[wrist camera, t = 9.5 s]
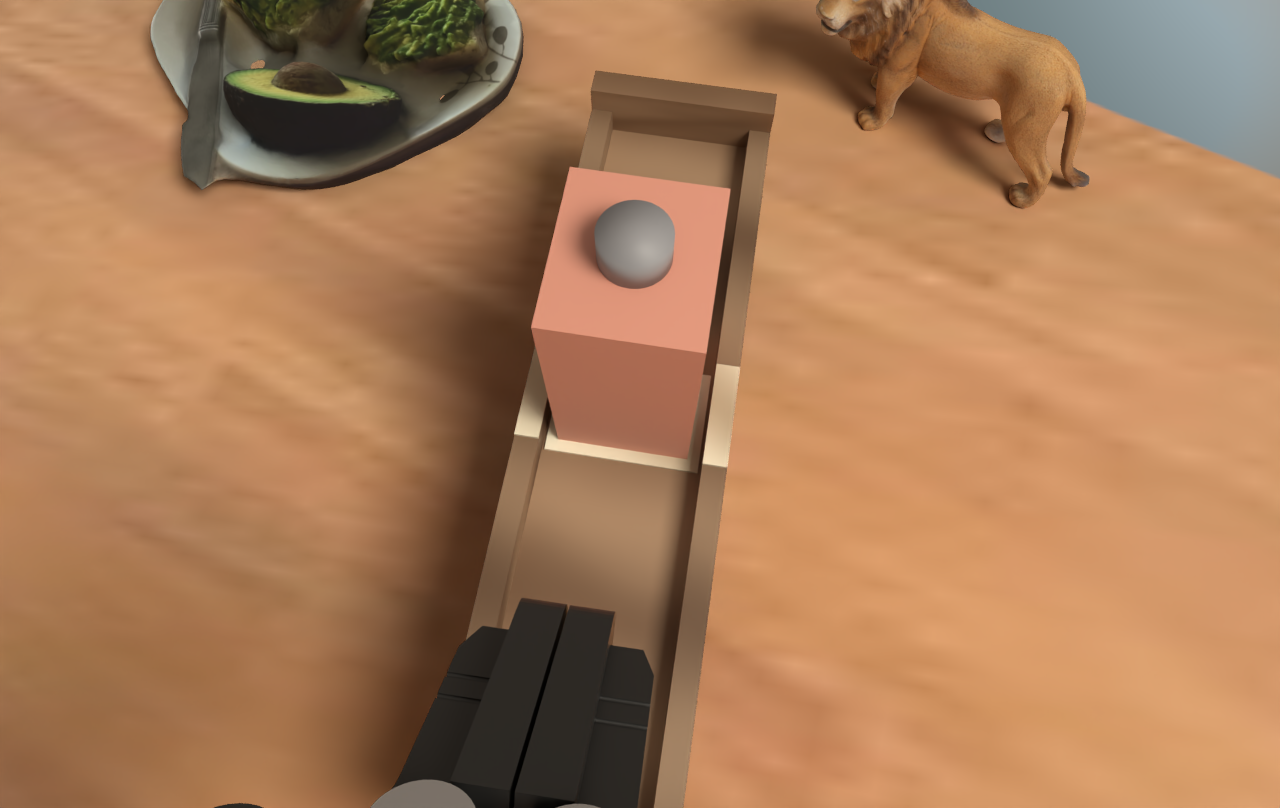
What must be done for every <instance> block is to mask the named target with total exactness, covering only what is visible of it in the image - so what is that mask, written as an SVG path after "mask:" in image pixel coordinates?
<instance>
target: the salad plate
mask: <svg viewBox="0 0 1280 808" xmlns="http://www.w3.org/2000/svg"><path fill="white" fill-rule="evenodd" d="M151 41H152V43H153V47H154V49H155V53H156V56H157V59H158V60H159V63H160V64H161V67H162V68H163V70H164V71H165V73H166V75H167V77H168V78H169V80H170V82H171V84H172V85H173V87H174V89H175V91H176V93H177V95H178V96H179V98H180V99H181V101H182V102H183V104H184V105H185V107H186V108H187V110H188V120H187V121H186V122H185V123H184V124H183V125H182V137H181V157H182V159H181V160H182V168H183V173H184V176H185V177H186V178H188V179H189V180H191V181H193V182H194V183H195V184H196V185H197V186H198V187H199V188H201V190H203V189H204V188H206V187H207V186H209V185H210V184H212V183H213V182H215V181H218V180H223V179H230V180H245V181H250V182H254V183H259V184H265V185H273V186H281V187H289V188H297V189H323V188H330V187H336V186H340V185H344V184H348V183H351V182H354V181H357V180H360V179H363V178H365V177H368V176H370V175H373V174H376V173H379V172H382V171H384V170H387V169H390V168H392V167H394V166H396V165H398V164H400V163H402V162H404V161H406V160H408V159H410V158H412V157H414V156H416V155H419V154H421V153H423V152H425V151H427V150H430V149H432V148H434V147H436V146H438V145H440V144H442V143H444V142H446V141H448V140H450V139H452V138H454V137H456V136H458V135H460V134H461V133H463V132H464V131H466V130H467V129H469V128H470V127H472V126H473V125H474V124H476V123H477V122H478V121H479V120H480V119H481V118H483V117H484V116H485V115H486V114H488V113H489V112H490V111H491V110H493V109H494V108H495V107H496V106H497V105H499V104H500V103H501V102H502V101H503V100H504V99H505V98H506V97H507V96H508V94H509V92H510V90H511V88H512V86H513V83H514V81H515V79H516V77H517V74H518V71H519V67H520V64H521V61H522V57H523V31H522V24H521V21H520V19H519V17H518V15H517V12H516V10H515V8H514V7H513V5H512V4H511V2H510V1H509V0H163V2H162V3H161V5H160V7H159V8H158V10H157V12H156V14H155V16H154V17H153V20H152V24H151ZM257 60H264V62H265V66H264V68H258V69H251V68H250V66H251V64H252V63H254V62H256V61H257ZM443 95H445V96H444V97H443V98H442V99H441V100H440V98H441V97H442V96H443Z"/></svg>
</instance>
